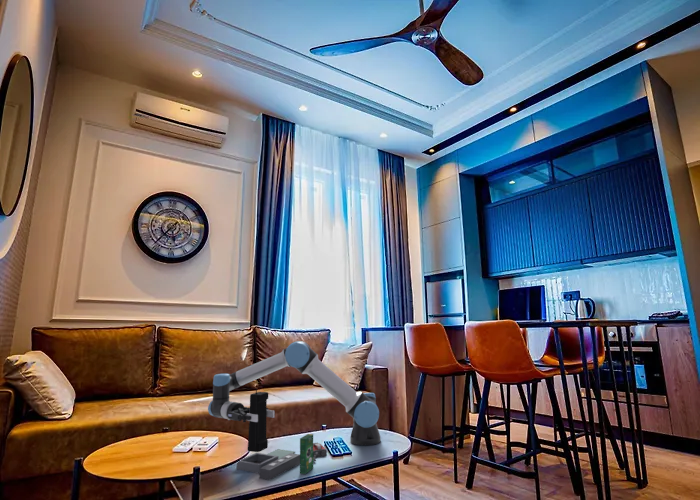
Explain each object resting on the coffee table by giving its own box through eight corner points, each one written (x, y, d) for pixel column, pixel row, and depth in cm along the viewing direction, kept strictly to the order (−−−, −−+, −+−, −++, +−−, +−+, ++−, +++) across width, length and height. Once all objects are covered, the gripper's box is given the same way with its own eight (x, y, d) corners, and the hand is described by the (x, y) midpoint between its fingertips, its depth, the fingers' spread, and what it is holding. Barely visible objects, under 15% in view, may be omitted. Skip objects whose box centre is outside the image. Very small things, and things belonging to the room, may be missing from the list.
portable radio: (257, 445, 168) (258, 385, 173) (269, 447, 166) (270, 385, 171) (246, 451, 161) (247, 388, 166) (258, 452, 158) (259, 388, 163)
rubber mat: (295, 452, 178) (295, 451, 178) (278, 460, 168) (278, 459, 168) (278, 450, 183) (278, 449, 183) (261, 457, 172) (261, 456, 172)
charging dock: (300, 463, 164) (300, 453, 165) (269, 480, 147) (269, 469, 147) (262, 457, 173) (262, 448, 174) (229, 472, 156) (229, 462, 157)
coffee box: (307, 467, 160) (307, 433, 162) (314, 467, 159) (313, 433, 161) (299, 474, 152) (299, 438, 155) (305, 474, 151) (305, 438, 154)
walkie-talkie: (301, 451, 182) (312, 464, 163) (301, 441, 183) (312, 453, 164) (319, 448, 185) (332, 461, 166) (319, 438, 186) (332, 450, 167)
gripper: (251, 415, 184) (284, 420, 170) (212, 424, 168) (244, 431, 154) (251, 398, 185) (284, 402, 172) (212, 406, 169) (245, 411, 156)
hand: (265, 416), depth 163 cm, fingers closed on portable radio, 8 cm apart
